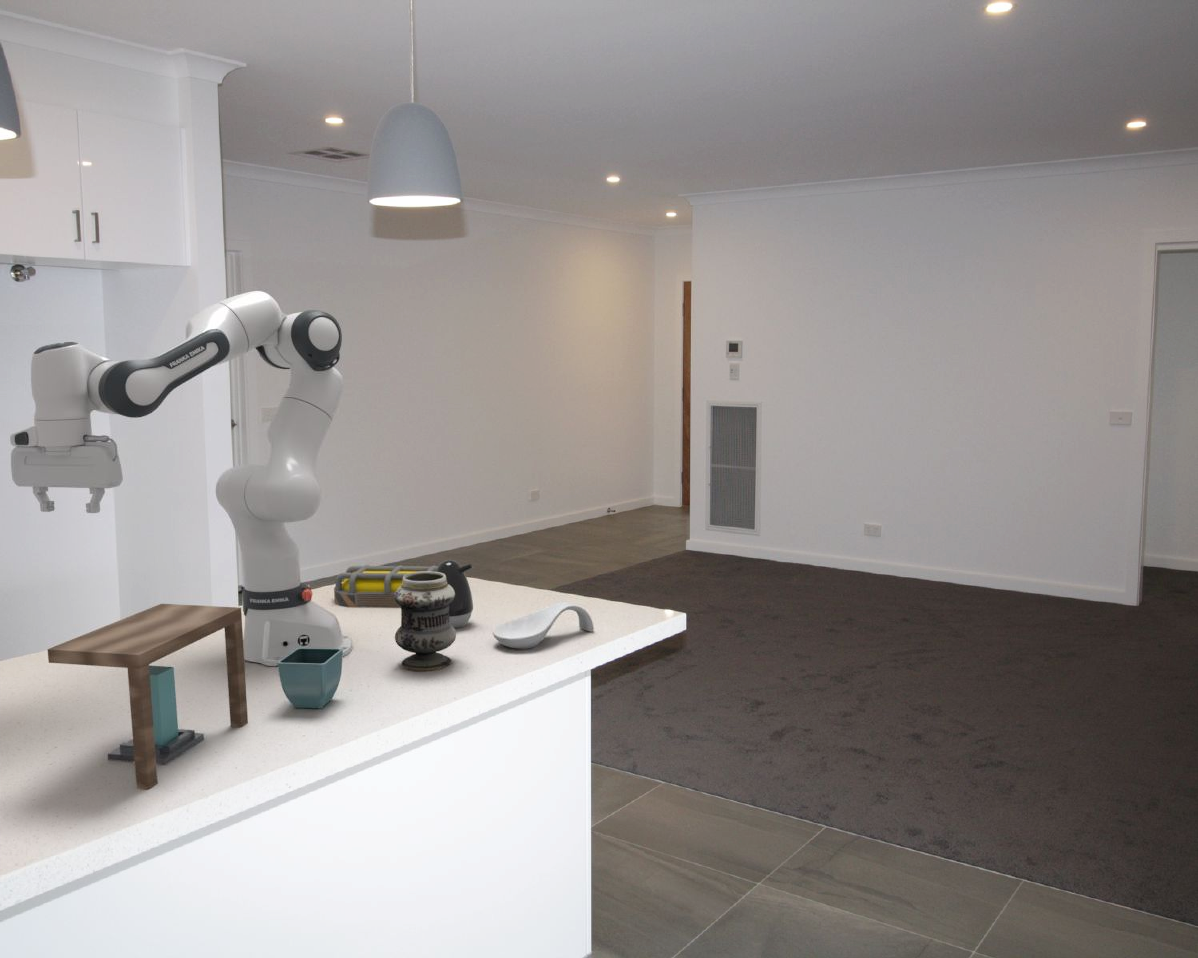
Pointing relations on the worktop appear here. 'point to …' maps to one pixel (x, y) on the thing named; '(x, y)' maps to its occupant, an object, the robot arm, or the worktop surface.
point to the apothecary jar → (425, 620)
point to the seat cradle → (160, 748)
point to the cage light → (372, 585)
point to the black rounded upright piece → (458, 592)
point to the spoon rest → (537, 626)
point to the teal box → (163, 704)
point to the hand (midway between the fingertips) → (70, 512)
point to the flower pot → (310, 676)
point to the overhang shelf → (147, 643)
